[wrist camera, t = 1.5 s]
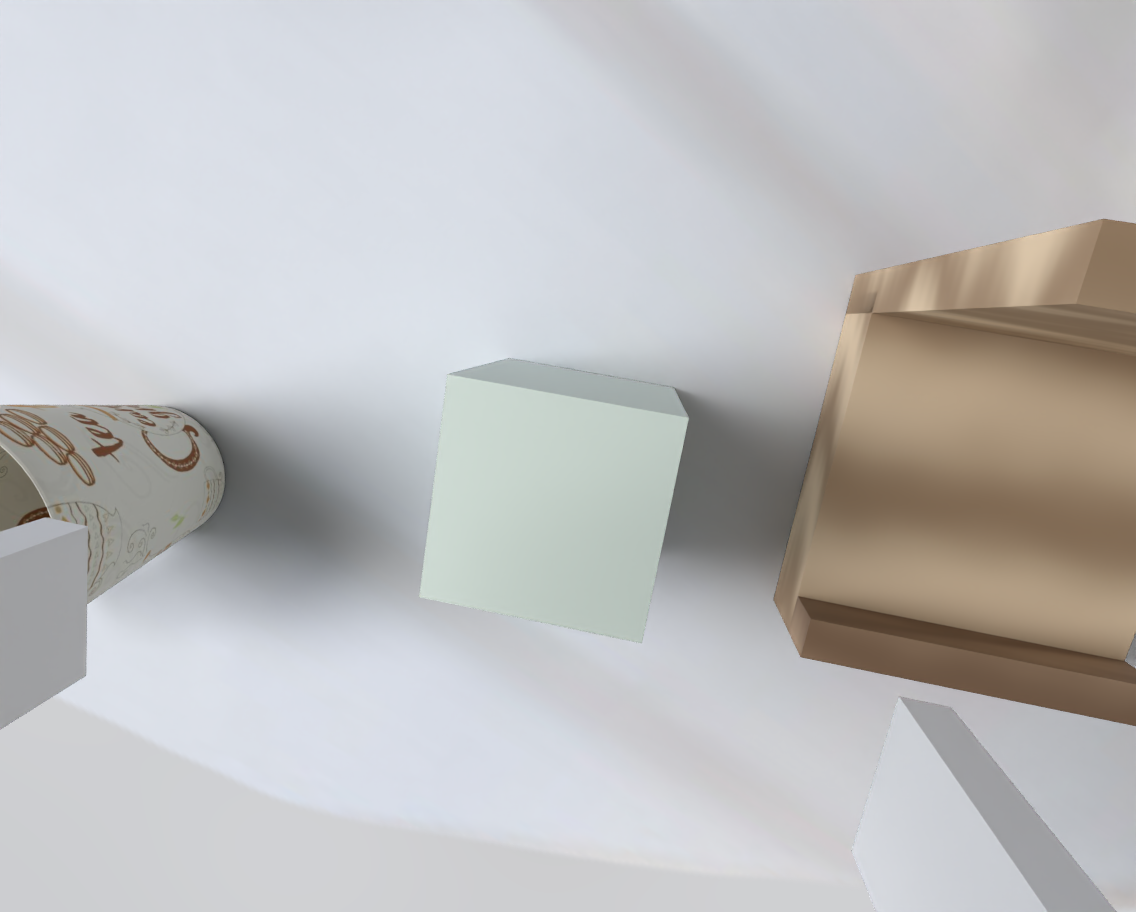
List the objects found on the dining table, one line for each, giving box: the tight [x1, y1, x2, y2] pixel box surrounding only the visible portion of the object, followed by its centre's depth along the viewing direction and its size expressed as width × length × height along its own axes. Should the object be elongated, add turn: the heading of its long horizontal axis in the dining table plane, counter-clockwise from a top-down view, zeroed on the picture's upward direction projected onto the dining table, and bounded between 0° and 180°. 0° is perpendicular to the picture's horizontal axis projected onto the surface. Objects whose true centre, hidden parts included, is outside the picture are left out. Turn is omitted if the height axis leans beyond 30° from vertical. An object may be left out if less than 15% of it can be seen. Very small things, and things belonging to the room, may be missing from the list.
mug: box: [0, 405, 225, 604], centre depth 26 cm, size 8×13×10 cm, turn 132°
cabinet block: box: [419, 358, 689, 643], centre depth 24 cm, size 8×7×9 cm
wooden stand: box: [774, 219, 1136, 726], centre depth 20 cm, size 14×12×14 cm
